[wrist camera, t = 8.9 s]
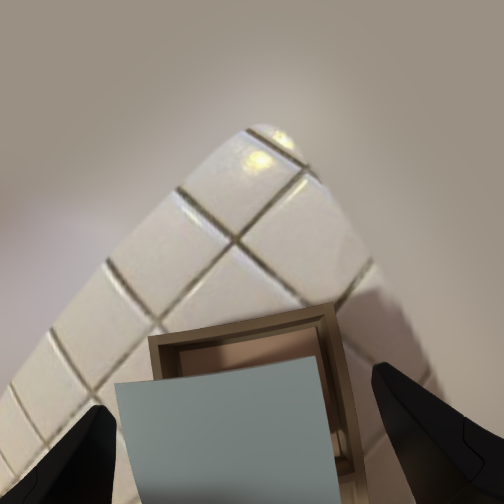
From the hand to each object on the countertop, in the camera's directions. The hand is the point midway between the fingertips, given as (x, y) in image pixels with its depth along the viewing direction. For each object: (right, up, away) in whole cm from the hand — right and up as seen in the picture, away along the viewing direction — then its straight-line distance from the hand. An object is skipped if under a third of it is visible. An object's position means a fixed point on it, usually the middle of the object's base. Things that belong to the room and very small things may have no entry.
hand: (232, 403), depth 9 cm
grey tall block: (+1, -4, +6) cm, 8 cm away
